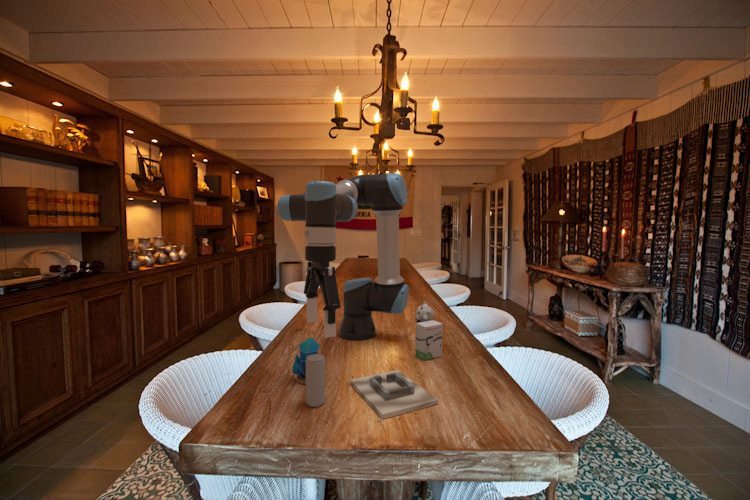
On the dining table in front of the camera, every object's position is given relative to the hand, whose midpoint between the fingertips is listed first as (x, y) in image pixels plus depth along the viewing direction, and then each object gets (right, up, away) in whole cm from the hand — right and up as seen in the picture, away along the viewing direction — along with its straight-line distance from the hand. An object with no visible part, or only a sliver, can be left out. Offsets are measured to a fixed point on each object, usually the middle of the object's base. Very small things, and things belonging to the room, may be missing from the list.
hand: (320, 329), depth 88 cm
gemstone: (-6, -18, +15) cm, 24 cm away
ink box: (+33, -17, +34) cm, 50 cm away
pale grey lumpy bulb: (+37, -14, +78) cm, 87 cm away
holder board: (+18, -19, +7) cm, 27 cm away
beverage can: (-1, -19, +1) cm, 19 cm away
